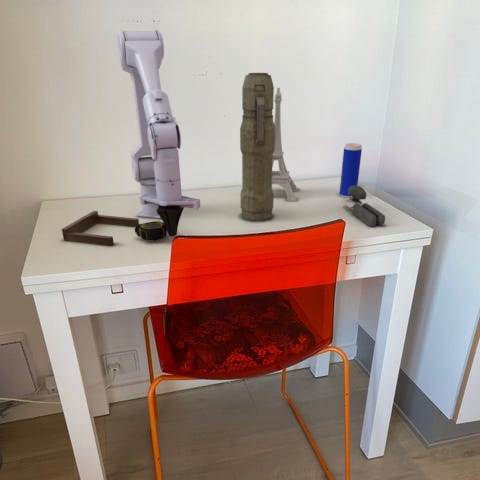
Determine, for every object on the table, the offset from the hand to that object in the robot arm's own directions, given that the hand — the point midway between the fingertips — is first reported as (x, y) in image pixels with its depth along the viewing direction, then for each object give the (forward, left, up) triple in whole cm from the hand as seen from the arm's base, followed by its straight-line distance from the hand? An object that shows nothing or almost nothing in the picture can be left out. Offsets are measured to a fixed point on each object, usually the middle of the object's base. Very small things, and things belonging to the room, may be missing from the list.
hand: (172, 235), depth 114 cm
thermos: (-22, +15, -2) cm, 27 cm away
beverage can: (-48, +37, -2) cm, 61 cm away
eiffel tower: (-44, +15, -2) cm, 47 cm away
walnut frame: (0, -19, -1) cm, 19 cm away
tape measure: (0, -6, -2) cm, 6 cm away
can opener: (-31, +43, -2) cm, 53 cm away
